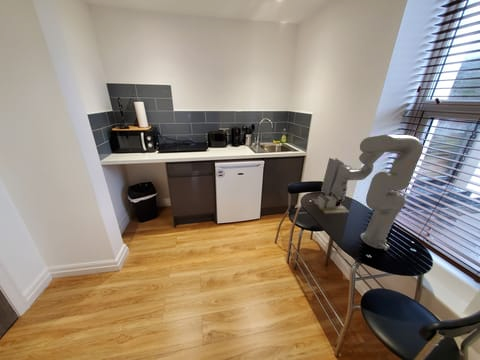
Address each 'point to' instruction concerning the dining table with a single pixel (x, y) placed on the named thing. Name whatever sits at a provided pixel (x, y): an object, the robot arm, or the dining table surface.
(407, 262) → the dining table surface
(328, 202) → the ticket pad
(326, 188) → the brochure
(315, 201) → the ticket board
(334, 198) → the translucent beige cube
